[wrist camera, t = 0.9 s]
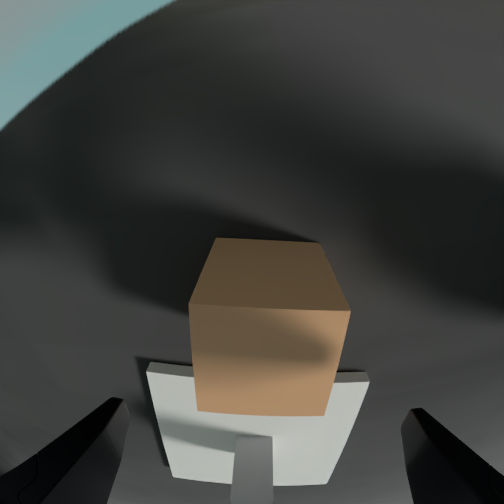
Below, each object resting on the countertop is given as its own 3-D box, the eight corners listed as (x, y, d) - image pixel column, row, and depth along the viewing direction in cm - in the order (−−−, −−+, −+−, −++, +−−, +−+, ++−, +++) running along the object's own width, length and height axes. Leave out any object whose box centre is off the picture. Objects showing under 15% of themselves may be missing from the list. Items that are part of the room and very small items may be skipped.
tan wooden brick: (319, 242, 16) (350, 311, 10) (307, 328, 18) (323, 415, 12) (216, 237, 16) (188, 303, 10) (216, 324, 18) (197, 410, 12)
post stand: (366, 371, 19) (399, 470, 12) (325, 475, 24) (333, 546, 17) (150, 361, 19) (109, 459, 12) (175, 468, 24) (159, 539, 17)
